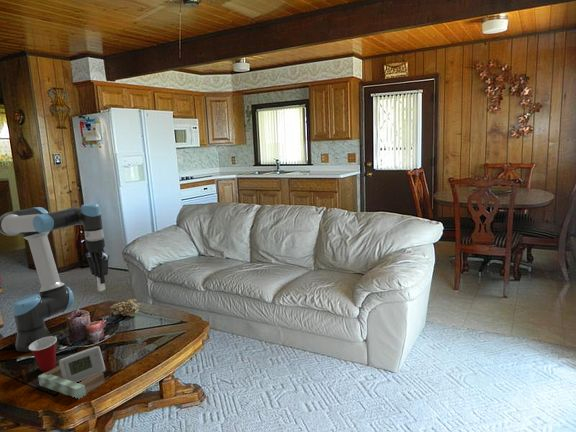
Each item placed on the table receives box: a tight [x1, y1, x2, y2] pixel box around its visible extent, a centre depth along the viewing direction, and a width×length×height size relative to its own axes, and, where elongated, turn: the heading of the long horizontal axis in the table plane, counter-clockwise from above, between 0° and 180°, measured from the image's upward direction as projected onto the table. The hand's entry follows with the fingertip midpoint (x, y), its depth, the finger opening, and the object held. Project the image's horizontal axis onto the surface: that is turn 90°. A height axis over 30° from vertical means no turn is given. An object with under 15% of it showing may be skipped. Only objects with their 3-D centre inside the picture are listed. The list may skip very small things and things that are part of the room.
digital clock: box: [58, 345, 106, 383], centre depth 179 cm, size 16×9×11 cm, turn 121°
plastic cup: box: [29, 335, 58, 372], centre depth 188 cm, size 11×11×12 cm
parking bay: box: [37, 365, 106, 400], centre depth 175 cm, size 24×12×4 cm, turn 62°
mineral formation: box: [109, 298, 141, 318], centre depth 242 cm, size 8×13×15 cm
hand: (101, 290), depth 198 cm, fingers closed
